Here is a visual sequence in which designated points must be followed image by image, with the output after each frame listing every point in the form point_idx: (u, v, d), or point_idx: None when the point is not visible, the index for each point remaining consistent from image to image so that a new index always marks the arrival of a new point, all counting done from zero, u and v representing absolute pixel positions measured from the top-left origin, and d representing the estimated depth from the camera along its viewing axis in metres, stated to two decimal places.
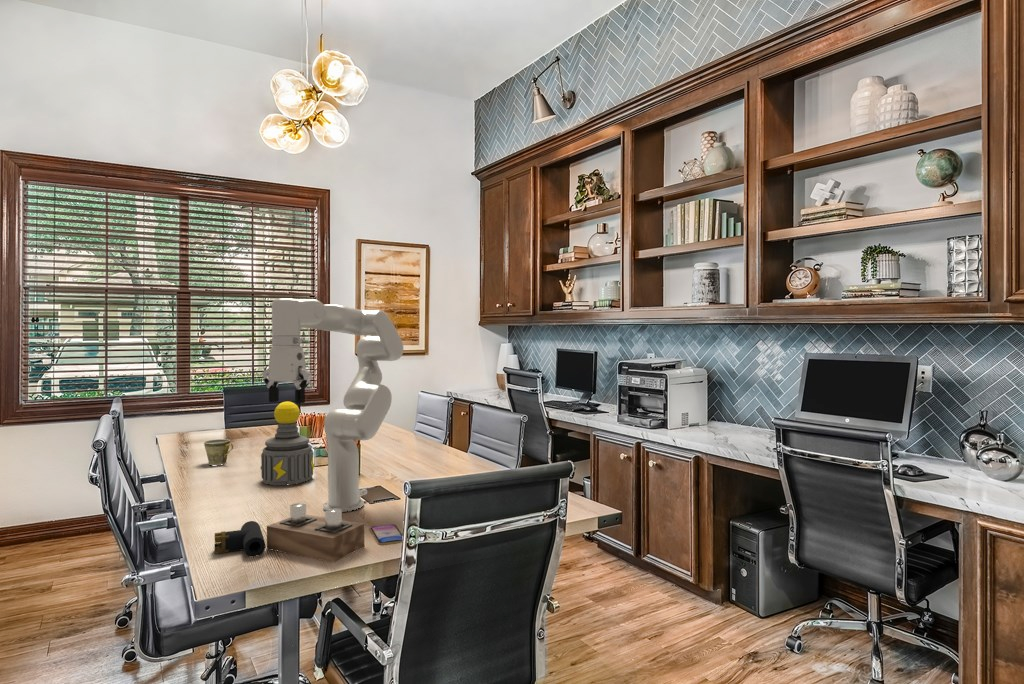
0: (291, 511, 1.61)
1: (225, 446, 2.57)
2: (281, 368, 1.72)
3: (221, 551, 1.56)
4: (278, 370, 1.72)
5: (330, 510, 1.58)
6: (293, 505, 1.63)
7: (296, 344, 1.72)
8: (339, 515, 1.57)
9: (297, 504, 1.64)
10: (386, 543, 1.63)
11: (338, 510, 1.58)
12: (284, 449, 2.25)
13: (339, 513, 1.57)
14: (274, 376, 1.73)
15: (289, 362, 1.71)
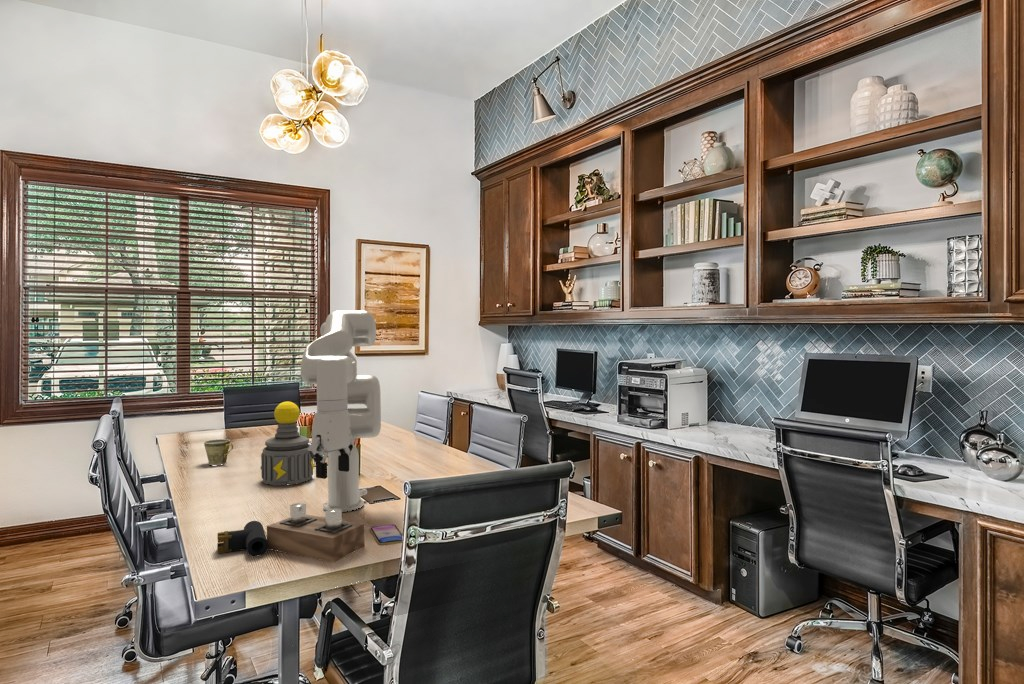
0: (291, 511, 1.61)
1: (225, 446, 2.57)
2: (341, 434, 1.57)
3: (224, 551, 1.57)
4: (338, 437, 1.56)
5: (330, 510, 1.58)
6: (293, 505, 1.63)
7: None
8: (339, 515, 1.57)
9: (297, 504, 1.64)
10: (386, 543, 1.63)
11: (338, 510, 1.58)
12: (284, 449, 2.25)
13: (339, 513, 1.57)
14: (333, 445, 1.54)
15: (348, 426, 1.59)
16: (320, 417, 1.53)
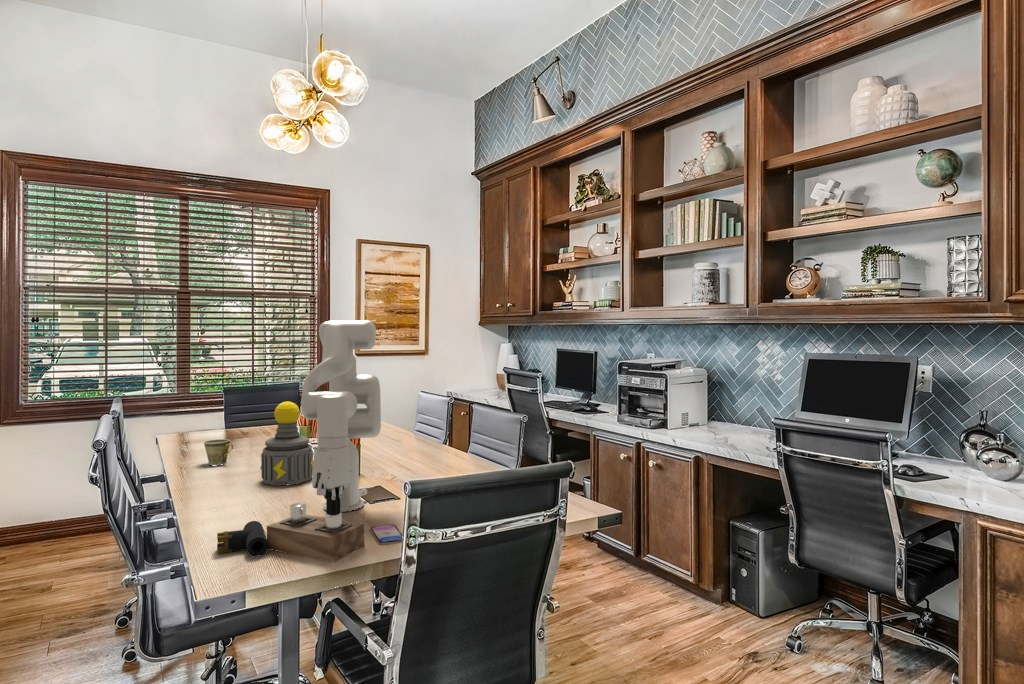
0: (291, 511, 1.61)
1: (225, 446, 2.57)
2: (341, 471, 1.57)
3: (224, 551, 1.56)
4: (338, 474, 1.56)
5: None
6: (293, 505, 1.63)
7: None
8: (339, 518, 1.57)
9: (297, 504, 1.64)
10: (386, 543, 1.63)
11: None
12: (284, 449, 2.25)
13: (339, 516, 1.57)
14: (333, 482, 1.54)
15: (348, 462, 1.59)
16: (320, 455, 1.53)
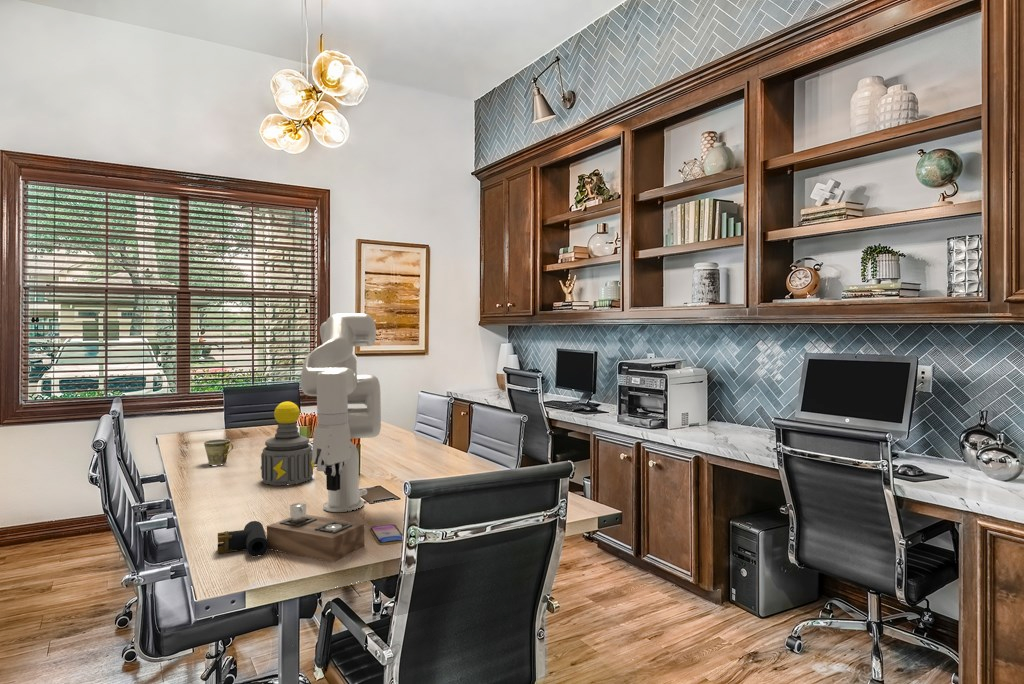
0: (291, 511, 1.61)
1: (225, 446, 2.57)
2: (341, 447, 1.57)
3: (224, 551, 1.56)
4: (338, 451, 1.56)
5: (330, 526, 1.58)
6: (293, 505, 1.63)
7: None
8: None
9: (297, 504, 1.64)
10: (386, 543, 1.63)
11: (338, 526, 1.58)
12: (284, 449, 2.25)
13: None
14: (333, 458, 1.55)
15: (348, 438, 1.60)
16: (320, 431, 1.53)
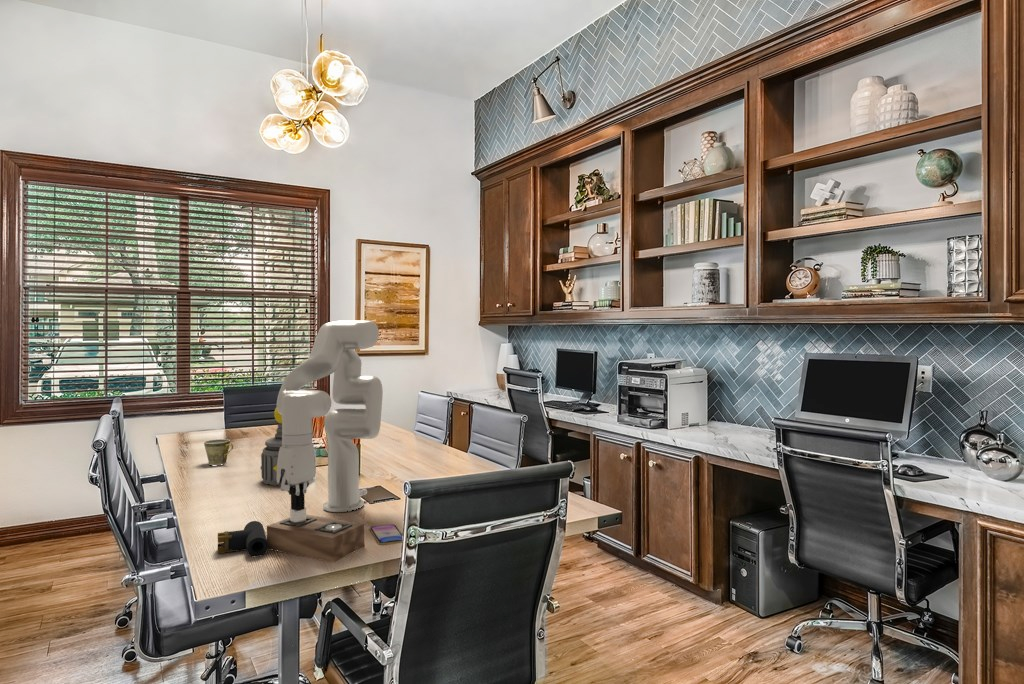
0: (291, 515, 1.61)
1: (225, 446, 2.57)
2: (305, 468, 1.62)
3: (224, 551, 1.56)
4: (302, 471, 1.61)
5: (330, 526, 1.58)
6: None
7: None
8: None
9: None
10: (386, 543, 1.63)
11: (338, 526, 1.58)
12: None
13: None
14: (297, 478, 1.60)
15: (312, 459, 1.64)
16: (284, 451, 1.58)
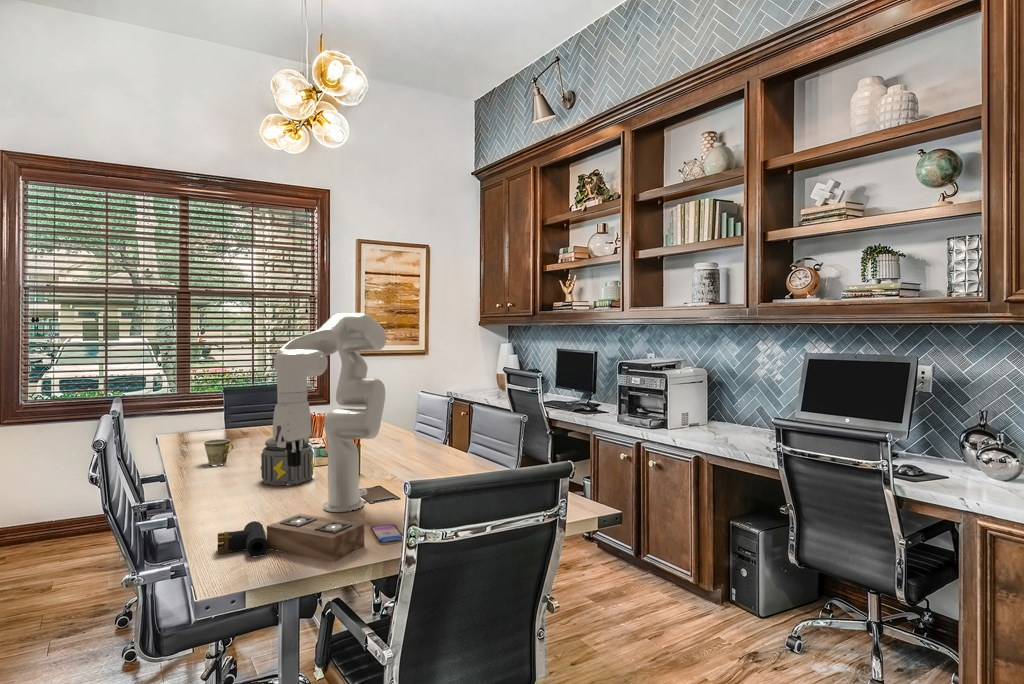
0: None
1: (225, 446, 2.57)
2: (301, 425, 1.64)
3: (224, 551, 1.56)
4: (298, 428, 1.63)
5: (330, 526, 1.58)
6: (293, 520, 1.63)
7: None
8: None
9: (297, 519, 1.64)
10: (386, 543, 1.63)
11: (338, 526, 1.58)
12: (284, 449, 2.25)
13: None
14: (293, 435, 1.62)
15: (308, 417, 1.67)
16: (280, 409, 1.60)
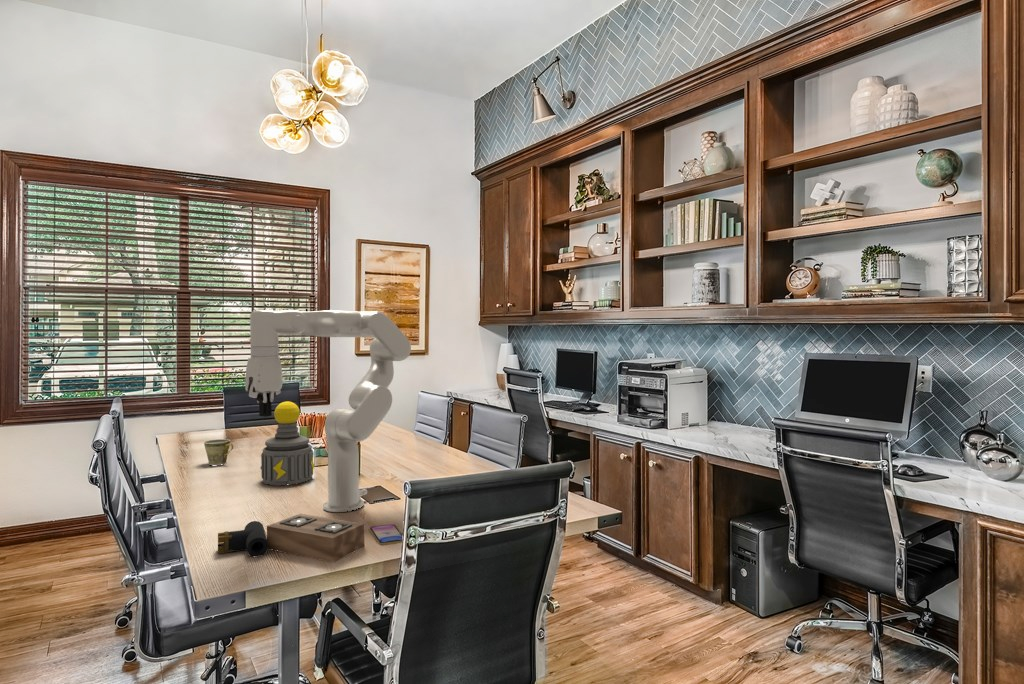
0: None
1: (225, 446, 2.57)
2: (272, 378, 1.77)
3: (224, 551, 1.56)
4: (269, 380, 1.76)
5: (330, 526, 1.58)
6: (293, 520, 1.63)
7: None
8: None
9: (297, 519, 1.64)
10: (386, 543, 1.63)
11: (338, 526, 1.58)
12: (284, 449, 2.25)
13: None
14: (264, 386, 1.75)
15: (279, 371, 1.80)
16: (252, 361, 1.74)
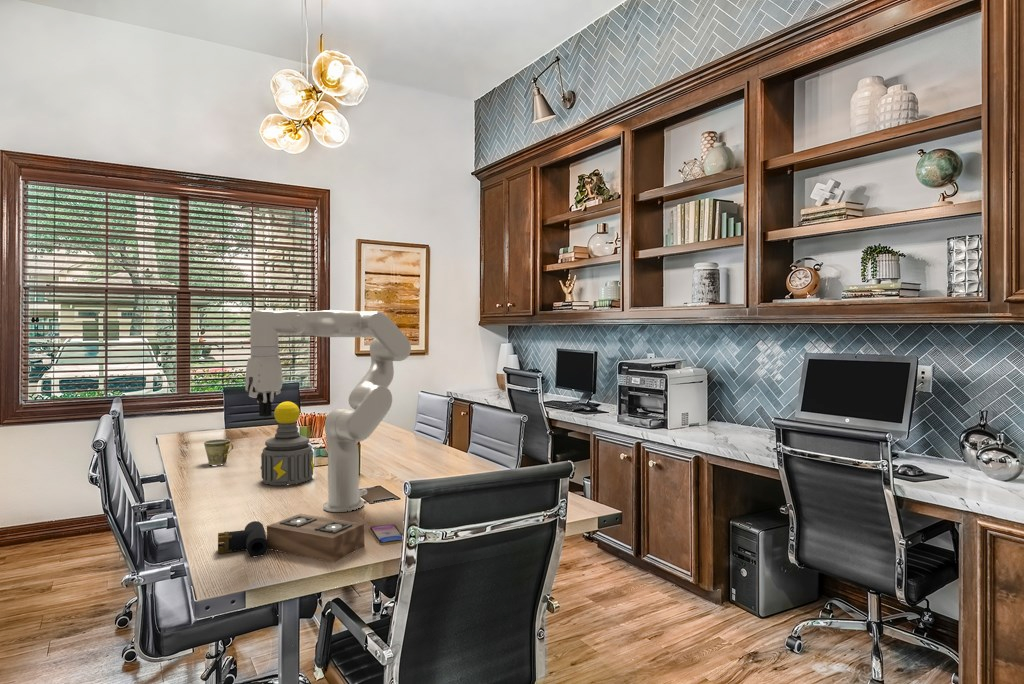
0: None
1: (225, 446, 2.57)
2: (272, 378, 1.77)
3: (224, 551, 1.56)
4: (269, 380, 1.76)
5: (330, 526, 1.58)
6: (293, 520, 1.63)
7: None
8: None
9: (297, 519, 1.64)
10: (387, 543, 1.63)
11: (338, 526, 1.58)
12: (284, 449, 2.25)
13: None
14: (264, 386, 1.75)
15: (279, 371, 1.80)
16: (252, 361, 1.74)
